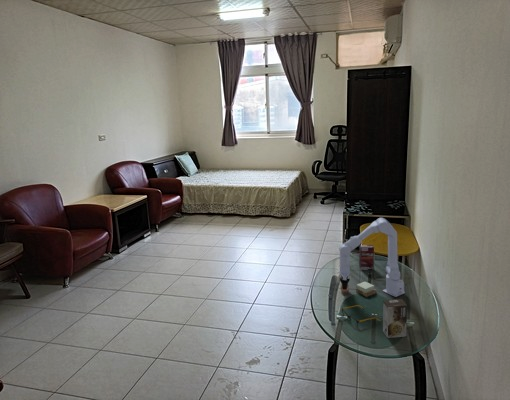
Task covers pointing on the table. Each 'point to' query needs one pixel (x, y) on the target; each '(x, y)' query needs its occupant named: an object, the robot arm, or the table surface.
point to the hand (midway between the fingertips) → (344, 286)
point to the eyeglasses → (353, 318)
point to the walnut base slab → (367, 292)
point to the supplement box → (366, 257)
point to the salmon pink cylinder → (345, 290)
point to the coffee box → (394, 318)
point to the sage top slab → (365, 287)
